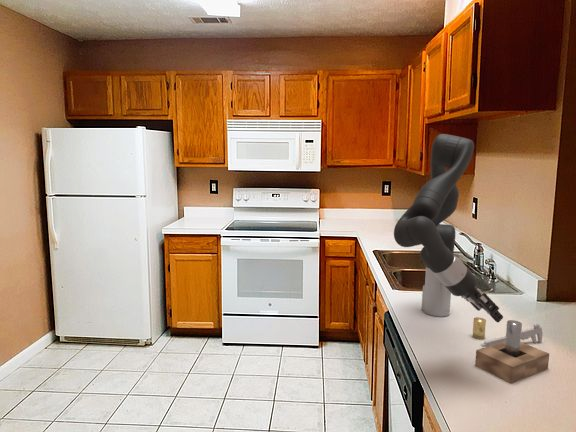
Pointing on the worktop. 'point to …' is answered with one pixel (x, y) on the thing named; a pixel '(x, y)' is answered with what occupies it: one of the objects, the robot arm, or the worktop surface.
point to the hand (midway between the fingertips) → (490, 313)
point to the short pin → (479, 328)
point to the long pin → (513, 338)
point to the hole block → (512, 361)
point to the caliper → (524, 335)
